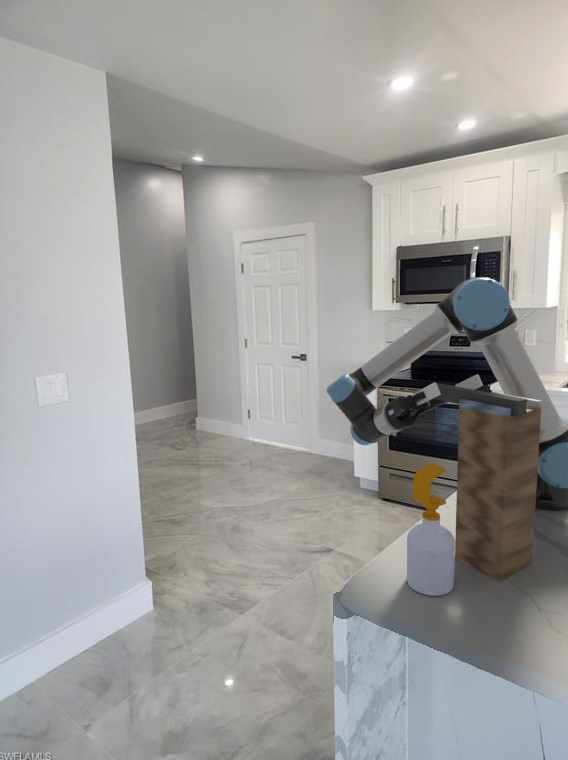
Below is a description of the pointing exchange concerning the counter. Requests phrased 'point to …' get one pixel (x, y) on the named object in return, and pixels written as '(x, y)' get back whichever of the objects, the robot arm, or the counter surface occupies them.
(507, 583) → the counter surface
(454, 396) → the bar
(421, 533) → the soap bottle
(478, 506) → the wooden block tower
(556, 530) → the counter surface
